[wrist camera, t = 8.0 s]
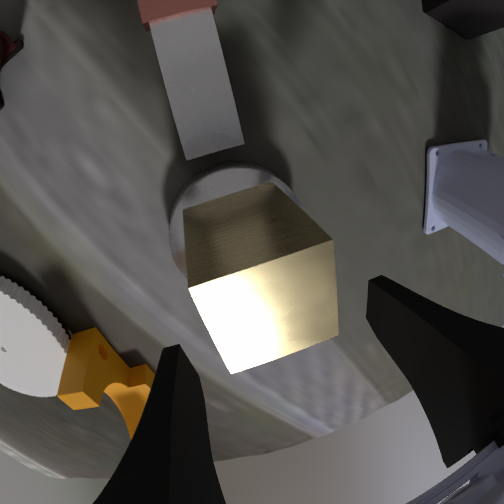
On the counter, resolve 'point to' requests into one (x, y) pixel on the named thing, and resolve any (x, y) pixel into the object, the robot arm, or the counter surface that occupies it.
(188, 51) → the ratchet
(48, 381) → the plastic lid
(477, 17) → the phone stand
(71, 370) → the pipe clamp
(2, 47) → the mate gourd
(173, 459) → the robot arm
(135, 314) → the counter surface
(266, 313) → the tan rectangular block
